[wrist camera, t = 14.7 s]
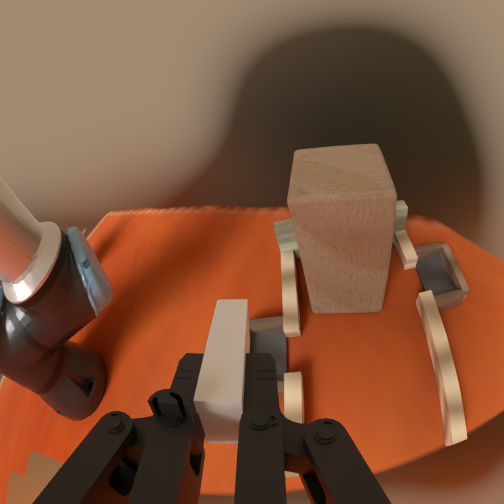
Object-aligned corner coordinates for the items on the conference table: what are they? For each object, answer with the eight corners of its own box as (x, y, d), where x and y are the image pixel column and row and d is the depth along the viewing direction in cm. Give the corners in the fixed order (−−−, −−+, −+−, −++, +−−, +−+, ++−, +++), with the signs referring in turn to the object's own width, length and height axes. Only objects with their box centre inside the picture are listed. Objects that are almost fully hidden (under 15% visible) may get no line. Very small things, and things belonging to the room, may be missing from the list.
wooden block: (381, 313, 34) (398, 193, 21) (311, 315, 38) (285, 200, 24) (376, 258, 41) (378, 141, 27) (316, 260, 44) (293, 148, 30)
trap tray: (497, 423, 17) (526, 410, 12) (235, 473, 25) (212, 475, 20) (429, 227, 41) (435, 195, 36) (248, 258, 49) (235, 229, 44)
